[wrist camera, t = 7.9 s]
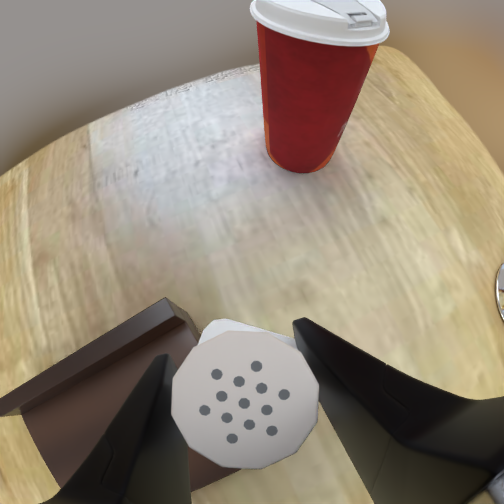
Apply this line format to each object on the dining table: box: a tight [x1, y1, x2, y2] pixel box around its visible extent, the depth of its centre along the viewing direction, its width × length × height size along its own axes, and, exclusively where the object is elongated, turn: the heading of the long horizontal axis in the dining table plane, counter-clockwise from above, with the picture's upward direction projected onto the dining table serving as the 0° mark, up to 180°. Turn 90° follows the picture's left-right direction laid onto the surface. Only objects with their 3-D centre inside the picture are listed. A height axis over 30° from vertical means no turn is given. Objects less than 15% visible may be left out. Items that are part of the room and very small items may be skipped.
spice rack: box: [0, 297, 242, 492], centre depth 16 cm, size 11×16×6 cm
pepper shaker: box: [171, 318, 319, 469], centre depth 10 cm, size 4×4×10 cm
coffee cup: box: [250, 0, 390, 173], centre depth 19 cm, size 8×8×15 cm
